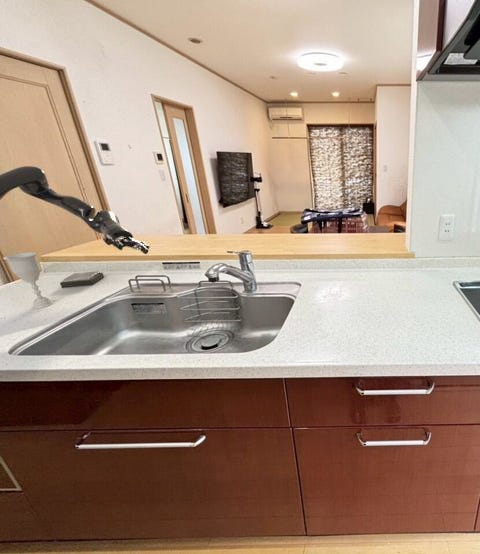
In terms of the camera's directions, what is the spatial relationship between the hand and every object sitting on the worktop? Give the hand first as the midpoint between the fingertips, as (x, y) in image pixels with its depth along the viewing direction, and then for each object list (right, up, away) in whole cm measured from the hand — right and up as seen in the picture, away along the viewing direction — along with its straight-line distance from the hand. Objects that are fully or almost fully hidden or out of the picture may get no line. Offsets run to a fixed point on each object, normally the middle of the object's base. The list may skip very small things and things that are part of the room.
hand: (134, 249), depth 117 cm
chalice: (-20, -21, -15) cm, 32 cm away
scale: (-23, -13, +3) cm, 27 cm away
